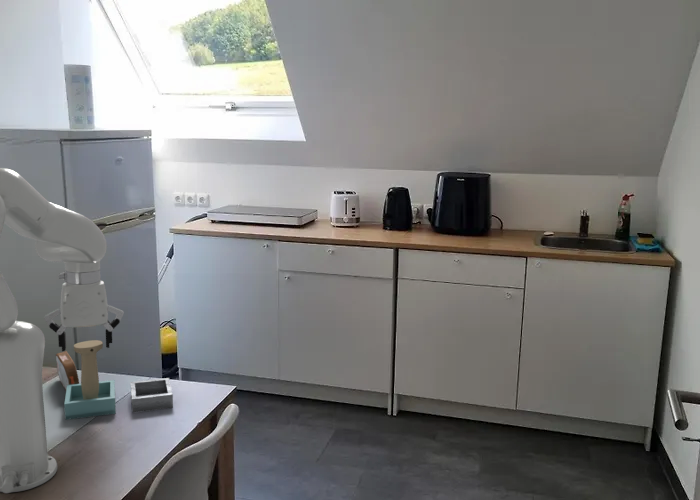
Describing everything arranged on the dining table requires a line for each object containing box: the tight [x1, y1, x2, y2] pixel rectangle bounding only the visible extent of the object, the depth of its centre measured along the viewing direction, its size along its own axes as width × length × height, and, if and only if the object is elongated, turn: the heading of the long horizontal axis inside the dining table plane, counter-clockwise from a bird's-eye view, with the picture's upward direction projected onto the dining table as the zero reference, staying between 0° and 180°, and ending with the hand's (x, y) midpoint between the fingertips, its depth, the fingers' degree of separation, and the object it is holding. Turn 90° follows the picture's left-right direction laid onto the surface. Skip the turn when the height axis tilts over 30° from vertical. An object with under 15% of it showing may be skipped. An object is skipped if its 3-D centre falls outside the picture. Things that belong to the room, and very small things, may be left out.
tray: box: [64, 379, 117, 421], centre depth 157 cm, size 11×11×4 cm
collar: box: [130, 377, 174, 414], centre depth 161 cm, size 10×9×4 cm
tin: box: [55, 350, 80, 391], centre depth 167 cm, size 15×3×8 cm, turn 35°
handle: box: [73, 339, 104, 400], centre depth 155 cm, size 5×6×15 cm
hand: (86, 347), depth 153 cm, fingers open, 9 cm apart
